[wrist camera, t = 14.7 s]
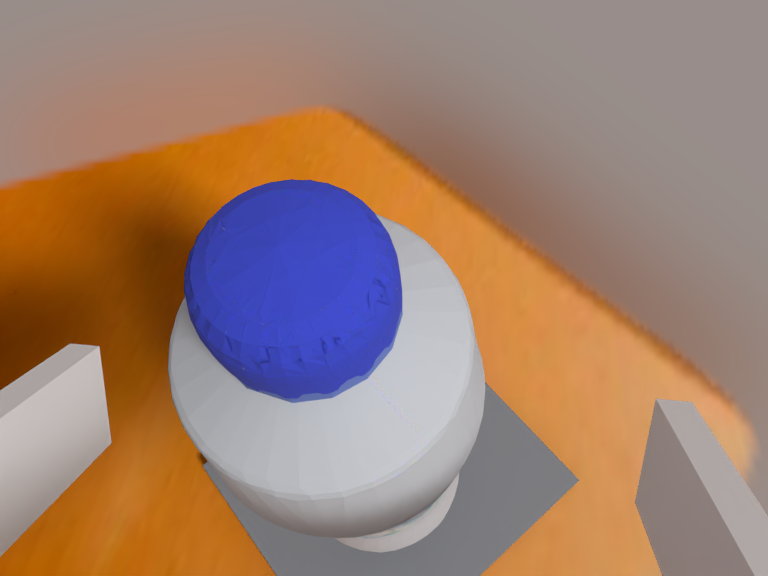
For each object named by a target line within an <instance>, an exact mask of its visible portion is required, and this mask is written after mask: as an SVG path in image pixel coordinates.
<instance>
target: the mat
mask: <svg viewBox="0 0 768 576" xmlns="http://www.w3.org/2000/svg"><path fill="white" fill-rule="evenodd" d="M203 467H204V469H205V470H206V472H207V473H208V475H209V476H210V478H211V479H212V481H213V482H214V484H215V485H216V487H217V488H218V490H219V491H220V492H221V494H222V495H223V497H224V498H225V500H226V501H227V503H228V504H229V506H230V507H231V509H232V510H233V512H234V513H235V515H236V516H237V518H238V519H239V521H240V522H241V524H242V525H243V527H244V528H245V529H246V531H247V532H248V534H249V535H250V537H251V538H252V540H253V541H254V543H255V544H256V546H257V547H258V549H259V550H260V552H261V553H262V555H263V556H264V558H265V559H266V561H267V562H268V564H269V565H270V566H271V568H272V569H273V571H274V572H275V574H276V575H277V576H480V575H481V574H482V573H483V572H484V571H485V570H486V569H487V568H488V567H489V566H490V565H491V564H493V563H494V562H495V561H496V560H497V559H498V558H499V557H500V556H501V555H502V554H503V553H504V552H505V551H506V550H507V549H508V548H509V547H510V546H511V545H512V544H513V543H514V542H515V541H516V540H517V539H519V538H520V537H521V536H522V535H523V534H524V533H525V532H526V531H527V530H528V529H529V528H530V527H531V526H532V525H533V524H534V523H535V522H536V521H537V520H538V519H539V518H540V517H541V516H542V515H543V514H545V513H546V512H547V511H548V510H549V509H550V508H551V507H552V506H553V505H554V504H555V503H556V502H557V501H558V500H559V499H560V498H561V497H562V496H563V495H564V494H565V493H566V492H567V491H568V490H569V489H571V488H572V487H573V486H574V485H575V484H576V483H577V482H578V481H579V480H578V479H577V478H576V476H575V475H574V474H573V473H572V472H571V471H570V470H569V469H568V468H567V467H566V466H565V465H564V464H563V463H562V462H561V461H560V460H559V459H558V458H557V457H556V456H555V455H554V453H553V452H552V451H551V450H550V449H549V448H548V447H547V446H546V445H545V444H544V443H543V442H542V441H541V440H540V439H539V438H538V437H537V436H536V435H535V434H534V433H533V432H532V430H531V429H530V428H529V427H528V426H527V425H526V424H525V423H524V422H523V421H522V420H521V419H520V418H519V417H518V416H517V415H516V414H515V413H514V412H513V411H512V410H511V409H510V407H509V406H508V405H507V404H506V403H505V402H504V401H503V400H502V399H501V398H500V397H499V396H498V395H497V394H496V393H495V392H494V391H493V390H492V389H491V388H490V387H489V386H488V385H487V383H486V382H485V399H484V410H483V417H482V420H481V424H480V428H479V431H478V435H477V438H476V441H475V443H474V445H473V447H472V450H471V452H470V454H469V456H468V458H467V460H466V462H465V463H464V465H463V466H462V468H461V470H460V472H459V480H458V485H457V489H456V493H455V497H454V499H453V501H452V504H451V506H450V508H449V510H448V512H447V514H446V515H445V517H444V519H443V520H442V521H441V523H440V524H439V525H438V526H437V527H436V528H435V529H434V530H433V531H432V532H430V533H429V534H428V535H427V536H425V537H424V538H422V539H421V540H419V541H418V542H416V543H414V544H412V545H409V546H407V547H404V548H401V549H398V550H395V551H388V552H382V553H379V552H371V551H363V550H359V549H356V548H353V547H350V546H347V545H345V544H343V543H341V542H340V541H338V540H336V539H335V538H330V537H321V536H311V535H306V534H302V533H299V532H295V531H291V530H287V529H285V528H282V527H280V526H278V525H276V524H274V523H272V522H270V521H268V520H266V519H264V518H262V517H261V516H259V515H258V514H257V513H255V512H254V511H252V510H251V509H250V508H248V507H247V506H246V505H244V504H243V503H242V502H240V501H239V500H238V498H237V497H236V496H235V495H234V494H233V493H232V492H231V491H230V490H229V489H228V488H227V486H226V485H225V484H224V482H223V481H222V479H221V478H220V477H219V475H218V474H217V472H216V470H215V469H214V468H213V467H212V465H211V464H210V463H209V462H206V463H205V464H204V465H203Z"/></svg>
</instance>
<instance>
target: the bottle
mask: <svg viewBox="0 0 768 576" xmlns="http://www.w3.org/2000/svg"><path fill="white" fill-rule="evenodd" d="M184 292H185V297H184V300H183V302H182V304H181V306H180V308H179V310H178V312H177V316H176V319H175V323H174V327H173V330H172V334H171V338H170V344H169V359H168V373H169V379H170V386H171V393H172V400H173V403H174V405H175V408H176V410H177V413H178V415H179V418H180V420H181V423H182V425H183V428H184V429H185V431H186V432H187V434H188V435H189V437H190V438H191V440H192V441H193V443H194V444H195V446H196V448H197V449H198V450H199V451H200V452H201V454H202V455H203V456H204V457H205V458H206V459H207V461H208V462H209V463H210V464H211V465H212V467H213V468H214V469H215V470H216V472H217V474H218V475H219V477H220V478H221V479H222V481H223V482H224V484H225V485H226V486H227V488H228V489H229V490H230V491H231V492H232V493H233V494H234V495H235V496H236V497H237V498H238V500H239V501H240V502H242V503H243V504H244V505H246V506H247V507H248V508H250V509H251V510H252V511H254V512H255V513H257V514H258V515H259V516H261V517H262V518H264V519H266V520H268V521H270V522H272V523H274V524H276V525H278V526H280V527H282V528H285V529H287V530H291V531H295V532H299V533H302V534H306V535H311V536H321V537H330V538H335V539H336V540H338V541H340V542H341V543H343V544H345V545H347V546H350V547H353V548H356V549H359V550H363V551H371V552H379V553H382V552H388V551H395V550H398V549H401V548H404V547H407V546H409V545H412V544H414V543H416V542H418V541H419V540H421V539H422V538H424V537H425V536H427V535H428V534H429V533H430V532H432V531H433V530H434V529H435V528H436V527H437V526H438V525H439V524H440V523H441V521H442V520H443V519H444V517H445V515H446V514H447V512H448V510H449V508H450V506H451V504H452V501H453V499H454V497H455V493H456V489H457V485H458V480H459V472H460V470H461V468H462V466H463V465H464V463H465V462H466V460H467V458H468V456H469V454H470V452H471V450H472V447H473V445H474V443H475V441H476V438H477V435H478V431H479V428H480V424H481V420H482V417H483V410H484V399H485V376H484V369H483V363H482V357H481V354H480V351H479V348H478V345H477V341H476V337H475V332H474V327H473V322H472V317H471V312H470V309H469V306H468V303H467V300H466V297H465V295H464V292H463V290H462V288H461V285H460V283H459V281H458V279H457V278H456V276H455V275H454V274H453V272H452V271H451V269H450V268H449V266H448V265H447V264H446V262H445V261H444V260H443V258H442V257H441V256H440V255H439V254H438V253H437V252H436V251H435V250H434V249H433V247H432V246H430V245H429V244H428V243H427V242H426V241H425V240H424V239H422V238H421V237H419V236H418V235H417V234H415V233H414V232H412V231H411V230H409V229H408V228H406V227H405V226H403V225H401V224H398V223H396V222H394V221H391V220H389V219H387V218H384V217H382V216H380V215H377V214H375V213H374V212H373V211H372V210H371V209H370V208H369V207H368V206H367V205H366V204H365V203H364V202H363V201H362V200H360V199H359V198H357V197H356V196H354V195H352V194H351V193H349V192H348V191H346V190H343V189H341V188H338V187H336V186H333V185H331V184H328V183H322V182H316V181H312V180H292V179H291V180H284V181H277V182H270V183H267V184H264V185H261V186H258V187H254V188H252V189H250V190H248V191H246V192H244V193H242V194H240V195H238V196H237V197H235V198H234V199H232V200H231V201H230V202H228V203H227V204H225V205H224V206H223V207H221V209H220V210H219V211H218V212H217V213H216V214H215V215H214V216H213V217H212V218H211V219H210V220H208V222H207V223H206V225H205V227H204V228H203V229H202V231H201V232H200V233H199V234H198V236H197V238H196V241H195V245H194V246H193V248H192V250H191V251H190V253H189V257H188V261H187V265H186V269H185V279H184Z"/></svg>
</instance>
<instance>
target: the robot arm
mask: <svg viewBox="0 0 768 576" xmlns="http://www.w3.org/2000/svg"><path fill="white" fill-rule="evenodd" d="M111 443H112V442H111V434H110V426H109V419H108V411H107V403H106V395H105V387H104V379H103V371H102V364H101V356H100V348H99V346H92V345H81V344H69V345H67V346H66V347H64V348H63V349H61V350H60V351H58V352H57V353H55V354H54V355H52V356H51V357H49V358H48V359H46V360H45V361H43V362H42V363H40V364H39V365H37V366H36V367H34V368H33V369H31V370H30V371H28V372H27V373H25V374H24V375H22V376H21V377H20V378H18V379H17V380H15V381H14V382H12V383H11V384H9V385H8V386H6V387H5V388H3V389H2V390H0V556H1V555H2V554H3V553H4V552H5V551H6V550H7V549H8V548H9V547H10V546H11V545H12V544H13V543H14V542H15V541H16V540H17V539H18V538H19V537H20V536H21V535H22V534H23V533H24V532H25V531H26V530H27V529H28V528H29V527H30V526H31V525H32V524H33V523H34V522H35V521H36V520H37V519H38V518H39V517H40V516H41V515H42V514H43V513H44V512H45V510H46V509H47V508H48V507H49V506H50V505H51V504H52V503H53V502H54V501H55V500H56V499H57V498H58V497H59V496H60V495H61V494H62V493H63V492H64V491H65V490H66V489H67V488H68V487H69V486H70V485H71V484H72V483H73V482H74V481H75V480H76V479H77V478H78V477H79V476H80V475H81V474H82V473H83V472H84V471H85V470H86V469H87V468H88V467H89V466H90V464H91V463H92V462H93V461H94V460H95V459H96V458H97V457H98V456H99V455H100V454H101V453H102V452H103V451H104V450H105V449H106V448H107V447H108V446H109V445H110V444H111ZM635 504H636V506H637V509H638V512H639V514H640V517H641V520H642V522H643V525H644V528H645V530H646V533H647V536H648V538H649V541H650V544H651V546H652V549H653V552H654V554H655V557H656V560H657V562H658V565H659V568H660V570H661V573H662V576H768V516H767V514H766V513H765V511H764V510H763V508H762V507H761V505H760V504H759V502H758V501H757V499H756V498H755V496H754V495H753V493H752V492H751V490H750V489H749V487H748V486H747V484H746V483H745V481H744V480H743V478H742V477H741V475H740V474H739V472H738V471H737V469H736V468H735V466H734V464H733V463H732V461H731V460H730V458H729V457H728V455H727V454H726V452H725V451H724V449H723V448H722V446H721V445H720V443H719V442H718V440H717V439H716V437H715V436H714V434H713V433H712V431H711V430H710V428H709V427H708V425H707V424H706V422H705V421H704V419H703V418H702V416H701V415H700V413H699V412H698V410H697V409H696V407H695V406H694V404H693V403H692V402H685V401H674V400H664V399H656V401H655V406H654V411H653V416H652V421H651V426H650V431H649V435H648V440H647V445H646V450H645V455H644V460H643V465H642V470H641V475H640V480H639V485H638V490H637V495H636V499H635Z"/></svg>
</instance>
